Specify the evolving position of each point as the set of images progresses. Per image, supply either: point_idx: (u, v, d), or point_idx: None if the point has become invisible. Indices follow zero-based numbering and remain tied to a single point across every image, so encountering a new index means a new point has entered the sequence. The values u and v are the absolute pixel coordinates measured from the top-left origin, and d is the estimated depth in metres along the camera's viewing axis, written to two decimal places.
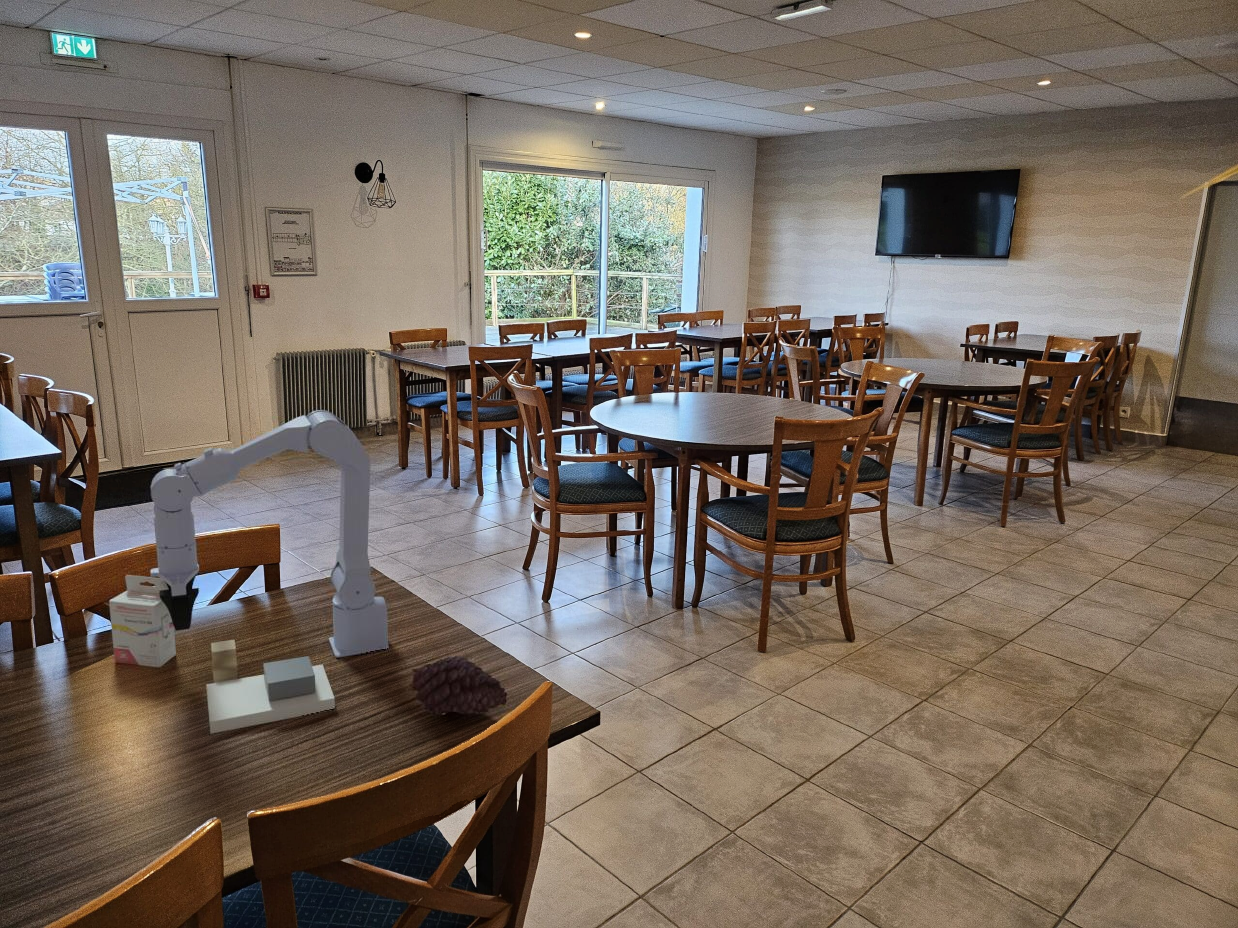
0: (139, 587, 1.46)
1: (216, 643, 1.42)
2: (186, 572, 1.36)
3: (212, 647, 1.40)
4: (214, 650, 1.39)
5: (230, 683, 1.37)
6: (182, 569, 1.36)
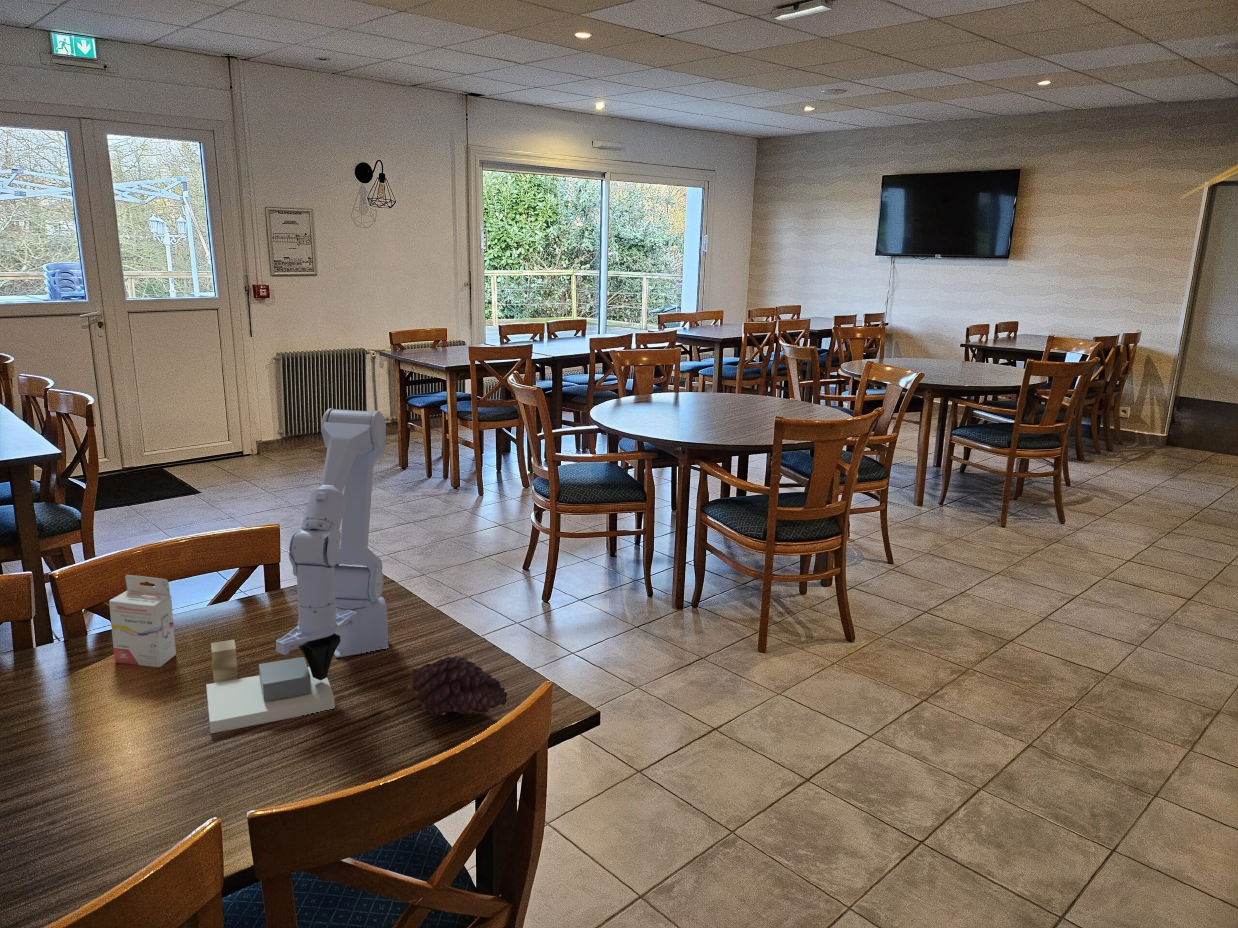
0: (139, 587, 1.46)
1: (216, 643, 1.42)
2: (309, 633, 1.33)
3: (212, 647, 1.40)
4: (214, 650, 1.39)
5: (230, 683, 1.37)
6: (306, 629, 1.33)
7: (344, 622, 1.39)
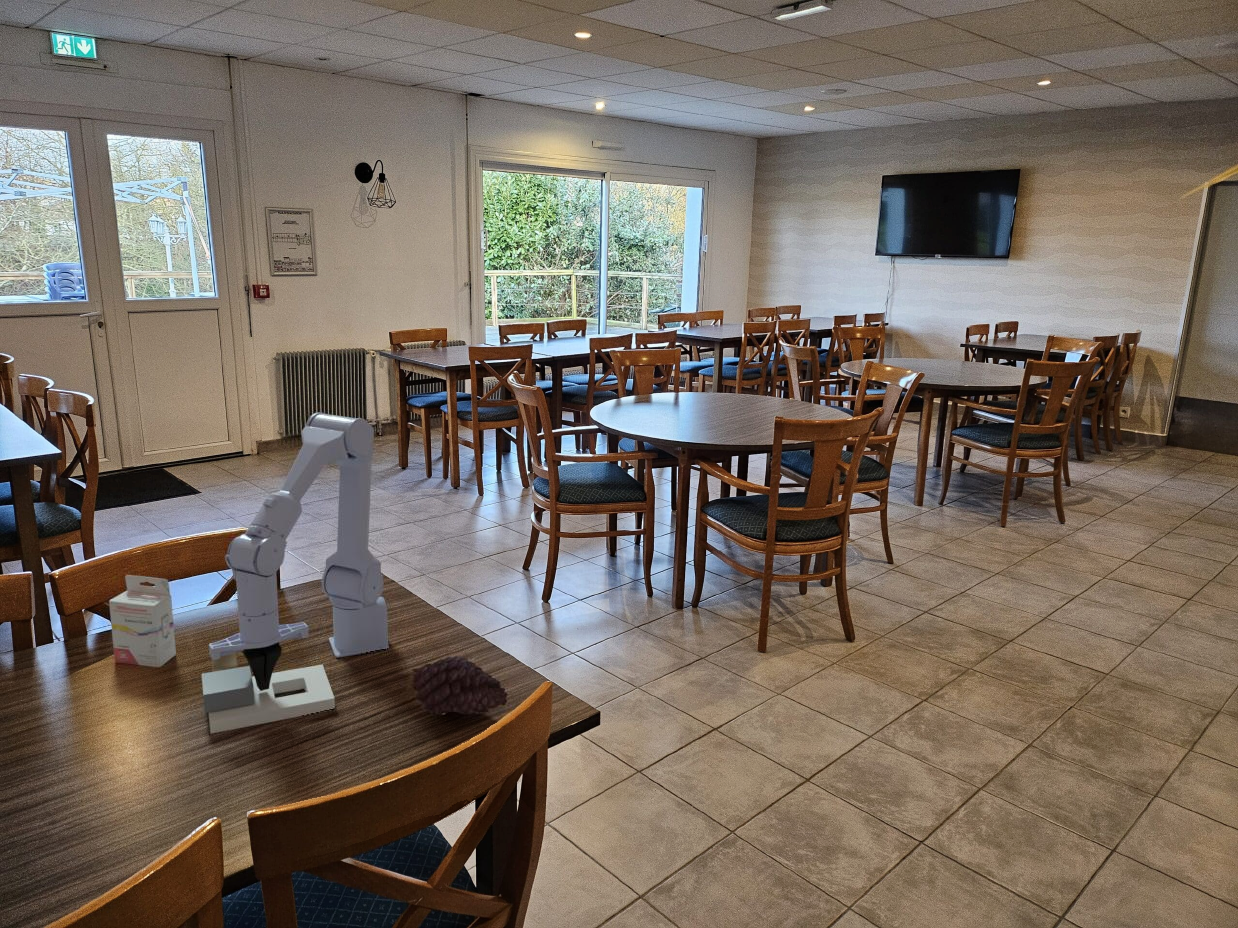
0: (139, 587, 1.46)
1: None
2: (244, 641, 1.30)
3: None
4: None
5: None
6: (242, 637, 1.30)
7: (288, 634, 1.33)
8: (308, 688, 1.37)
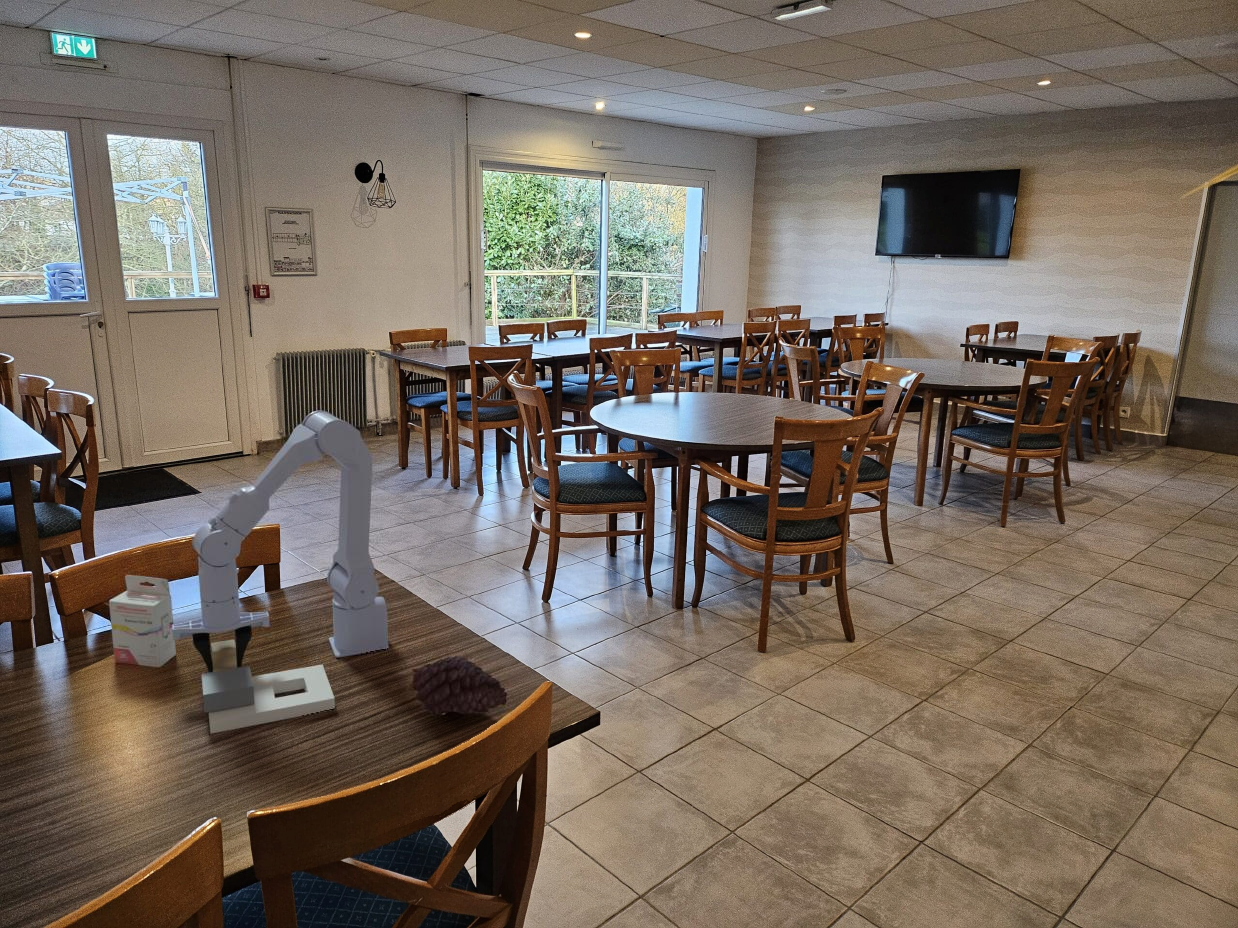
0: (139, 587, 1.46)
1: (216, 642, 1.42)
2: (204, 625, 1.37)
3: (212, 647, 1.40)
4: (214, 650, 1.39)
5: None
6: (202, 621, 1.38)
7: (247, 622, 1.40)
8: (308, 688, 1.37)
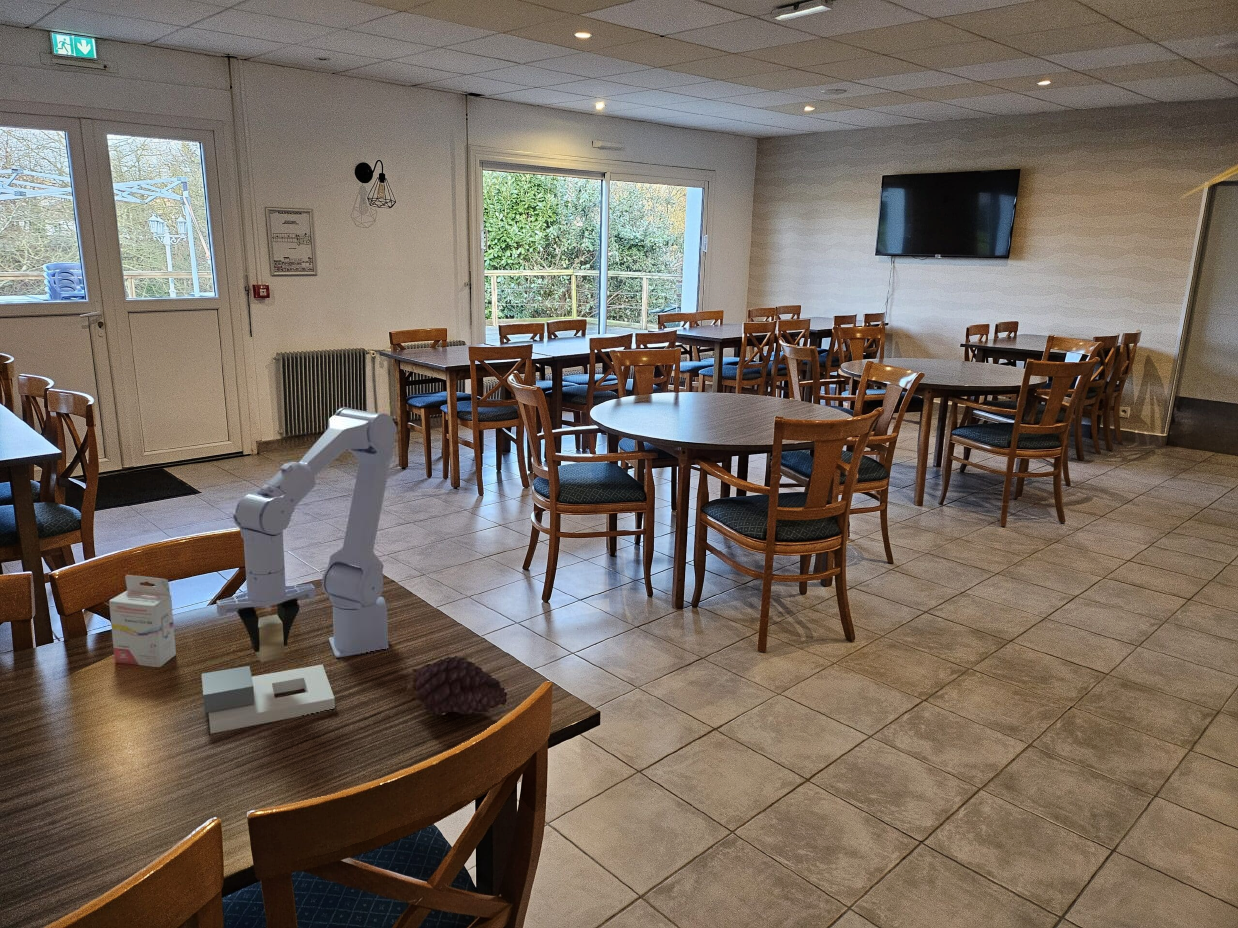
0: (139, 587, 1.46)
1: (259, 618, 1.36)
2: (250, 599, 1.32)
3: None
4: (260, 625, 1.33)
5: None
6: (249, 595, 1.32)
7: (294, 595, 1.35)
8: (308, 688, 1.37)
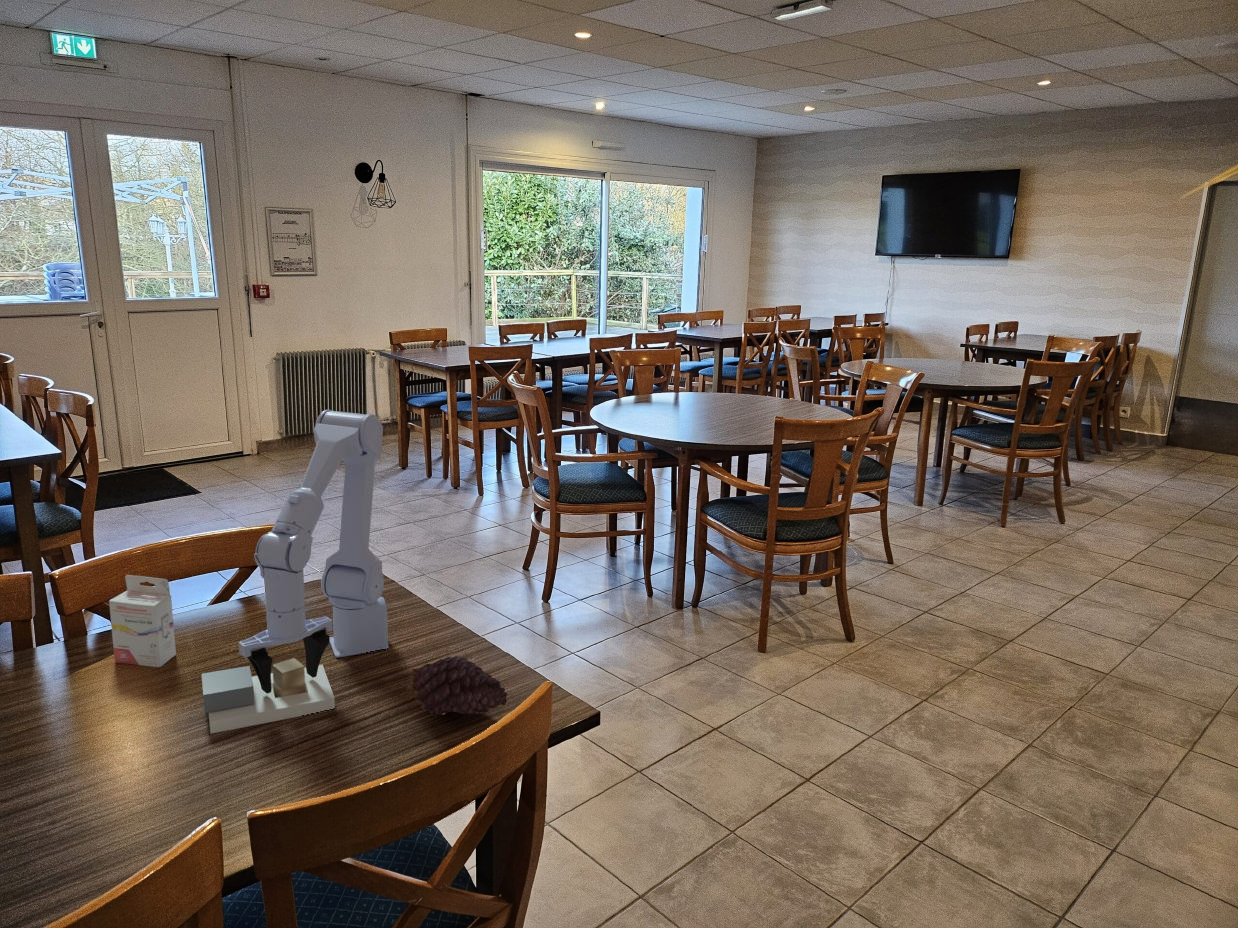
0: (139, 587, 1.46)
1: (278, 663, 1.36)
2: (274, 637, 1.31)
3: (278, 668, 1.35)
4: (283, 671, 1.34)
5: None
6: (271, 633, 1.31)
7: (315, 629, 1.36)
8: (308, 688, 1.37)
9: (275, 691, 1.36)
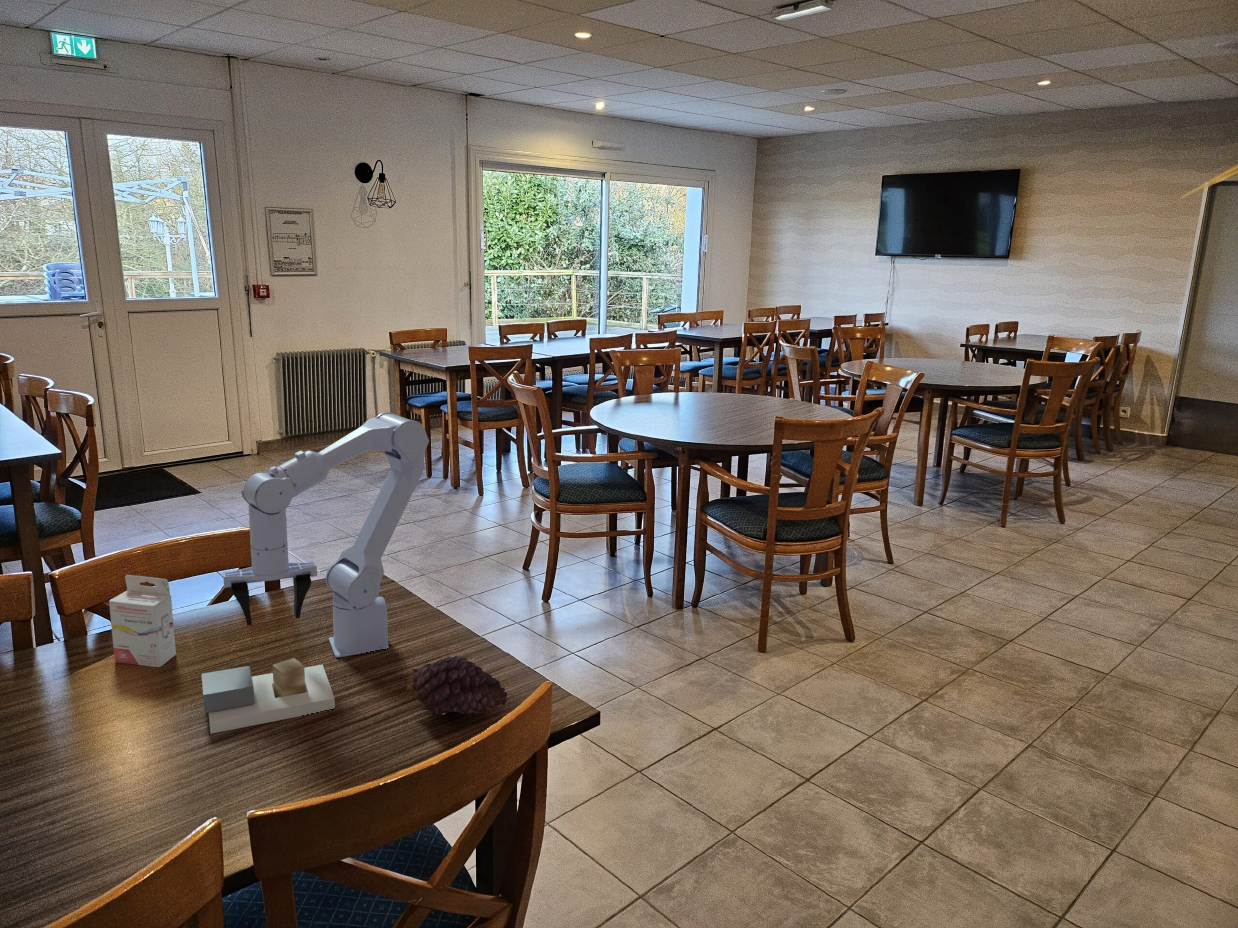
0: (139, 587, 1.46)
1: (278, 663, 1.36)
2: (254, 573, 1.39)
3: (278, 668, 1.35)
4: (283, 671, 1.34)
5: None
6: (253, 569, 1.39)
7: (296, 571, 1.42)
8: (308, 688, 1.37)
9: (275, 691, 1.36)
